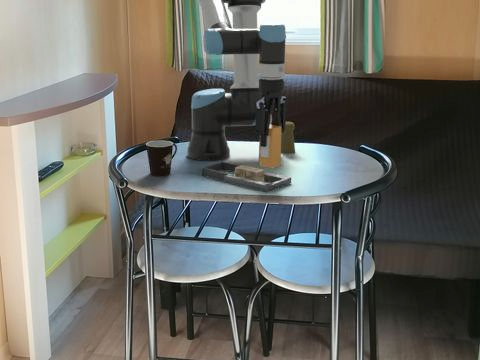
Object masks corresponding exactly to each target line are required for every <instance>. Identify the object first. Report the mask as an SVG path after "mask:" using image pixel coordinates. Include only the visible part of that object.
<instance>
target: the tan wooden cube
mask: <svg viewBox="0 0 480 360" xmlns="http://www.w3.org/2000/svg"><path fill="white" fill-rule="evenodd" d="M264 171H265V169H262V168H258V167H253V168H252V169H249V170H246V178H249V179H253V180H257V181H261V182H265V180H264Z"/></svg>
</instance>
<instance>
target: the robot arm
mask: <svg viewBox="0 0 480 360" xmlns="http://www.w3.org/2000/svg"><path fill="white" fill-rule="evenodd" d="M195 1H196V3H197V4H198V5H199V7H200V8H201V12H202V16H203V19H204V23H205V26H206V29H204V32H203V40H202V41H203V43H202V44H203V50H204V52H205V54H207V55H214V56H215V55H216V56H220V55H221V56H223V55H224V56H225V55H233V84H232V85H231V86H230V88H229V92H226V90H225V89H224V88H209V89H208V88H207V89H203V90H199V91H197V92H195V93H193V95H191V96H192V97H191V106H190V109H191V136H190V140H189V143H188V147H187V150H186V153H187V154H186V155H187V157H188V158H189V159H192V160H195V161H196V160H197V161H210V162H211V161H219V160H225V159H227V158H229V157H230V155H231V154H230V153H231V151H230V147H229V145H228V140H227V138H226V135H225V133H226V127H244V126H245V127H246V126H247V127H248V126H249V127H253V126H255V131H254V132H255V135H258V136H259V139H260V146H261V157H266V158H269V152H270V136H268V131H269V125H270V118H271V117H272V125H276V126H281V133H283V132H284V130H283V129H285V123H286V122H287V120H286V119H287V117H286V116H287V115H286V114H287V102H288V97H287V96H283V95H282V93H283V92H284V91H285V78H284V77H285V69H286V68H285V63H286V61H285V60H286V39H287V35H286V33H287V32H286V26H285V24H283V23H272V22H271V23H262V24H260V26H259V27H258V12H259V11H260V10H261V9H262V4H264V3H266V0H195ZM225 4H227V9H226V5H225ZM227 11H229V12H230V13H231V15H232V23H231V21H230V17H229V14H228V12H227ZM281 124H282V125H281ZM264 131H265V132H264Z"/></svg>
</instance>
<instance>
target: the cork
mask: <svg viewBox="0 0 480 360" xmlns="http://www.w3.org/2000/svg"><path fill="white" fill-rule="evenodd" d="M295 126H296V125H295V123H294V122H292V121H286V123H285V129H283V130H284V132H283V133H282V137H281V154H284V155H286V154H287V155H289V154H290V155H291V154H295V153H296V145H295V135H294V130H295V129H296V127H295Z"/></svg>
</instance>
